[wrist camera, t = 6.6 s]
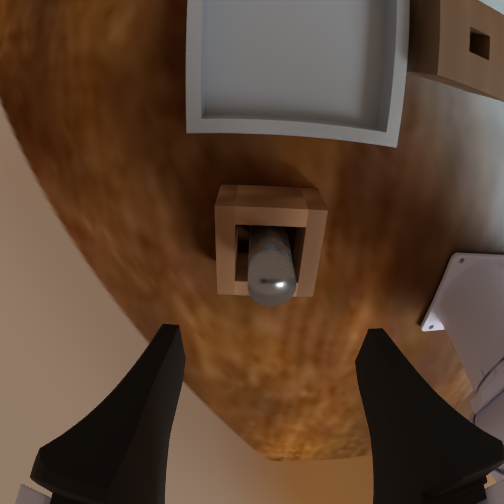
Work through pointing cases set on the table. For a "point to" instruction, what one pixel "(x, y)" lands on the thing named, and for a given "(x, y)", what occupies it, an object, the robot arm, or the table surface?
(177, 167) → the table surface
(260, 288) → the cylinder
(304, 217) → the wide bore block
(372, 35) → the tray
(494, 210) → the table surface
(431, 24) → the block
